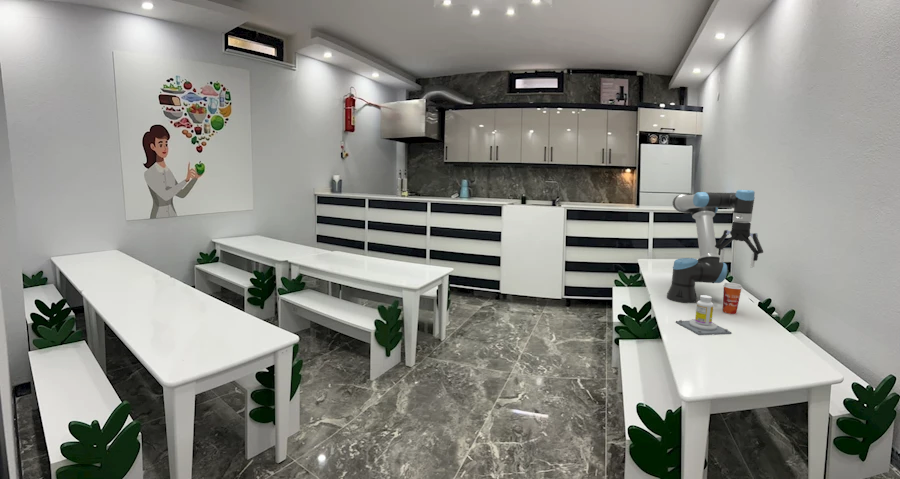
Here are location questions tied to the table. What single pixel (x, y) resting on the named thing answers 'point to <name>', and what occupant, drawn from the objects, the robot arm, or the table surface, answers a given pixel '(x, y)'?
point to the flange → (703, 328)
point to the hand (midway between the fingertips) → (736, 264)
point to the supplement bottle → (704, 310)
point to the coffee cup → (731, 297)
